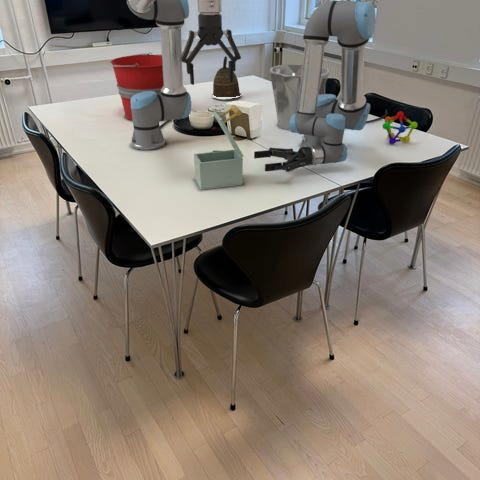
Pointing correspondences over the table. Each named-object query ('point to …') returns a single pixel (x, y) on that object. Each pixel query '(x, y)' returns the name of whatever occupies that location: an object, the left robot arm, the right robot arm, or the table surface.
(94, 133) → the table surface
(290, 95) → the bucket
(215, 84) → the bell
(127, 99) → the bucket
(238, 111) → the lid
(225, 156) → the chest
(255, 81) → the table surface
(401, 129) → the educational toy
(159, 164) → the table surface
